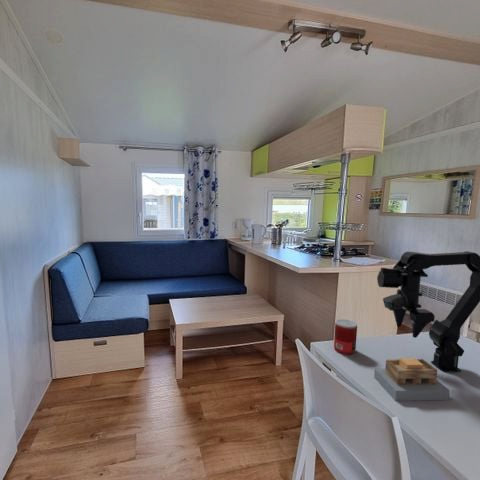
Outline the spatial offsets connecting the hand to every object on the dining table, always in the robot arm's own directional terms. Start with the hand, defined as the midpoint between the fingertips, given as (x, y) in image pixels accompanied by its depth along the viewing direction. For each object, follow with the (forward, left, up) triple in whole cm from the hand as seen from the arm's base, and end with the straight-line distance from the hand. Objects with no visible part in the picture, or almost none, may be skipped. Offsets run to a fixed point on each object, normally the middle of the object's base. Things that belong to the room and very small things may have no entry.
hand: (406, 331), depth 105 cm
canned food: (+17, -11, -12) cm, 24 cm away
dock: (+7, +14, -12) cm, 20 cm away
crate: (+7, +14, -6) cm, 17 cm away
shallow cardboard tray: (+7, +14, -9) cm, 18 cm away
